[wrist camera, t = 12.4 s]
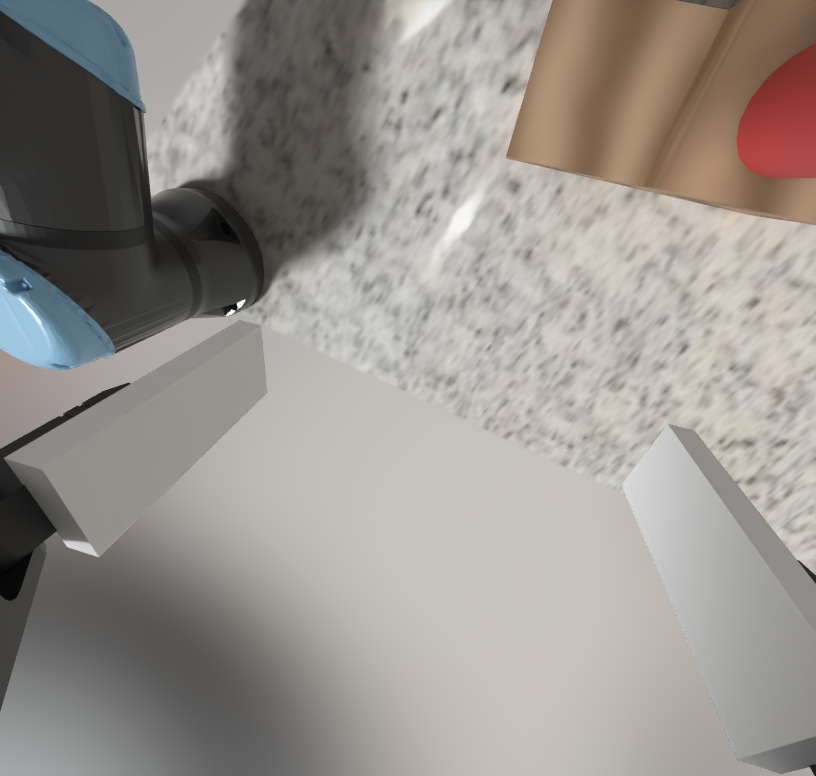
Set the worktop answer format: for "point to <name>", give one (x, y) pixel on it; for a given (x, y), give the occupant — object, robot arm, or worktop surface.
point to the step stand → (662, 97)
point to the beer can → (782, 122)
